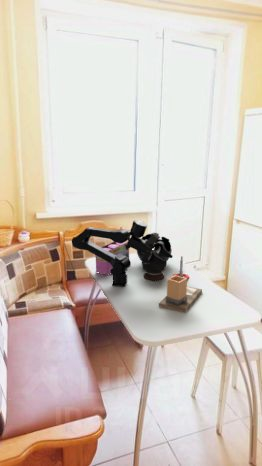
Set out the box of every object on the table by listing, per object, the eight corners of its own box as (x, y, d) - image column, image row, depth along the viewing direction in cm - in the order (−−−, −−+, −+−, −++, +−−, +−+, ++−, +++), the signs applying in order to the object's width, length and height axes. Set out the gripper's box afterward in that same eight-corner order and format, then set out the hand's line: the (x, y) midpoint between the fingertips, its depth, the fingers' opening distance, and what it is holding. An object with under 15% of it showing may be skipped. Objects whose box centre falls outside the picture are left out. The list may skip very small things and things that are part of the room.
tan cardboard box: (166, 296, 143) (167, 279, 141) (174, 292, 147) (175, 275, 145) (178, 300, 139) (179, 282, 137) (186, 295, 143) (187, 278, 141)
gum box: (119, 260, 201) (119, 239, 198) (130, 263, 197) (130, 241, 194) (95, 273, 181) (94, 249, 178) (107, 275, 177) (107, 251, 174)
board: (185, 312, 137) (185, 309, 136) (158, 306, 142) (158, 302, 142) (201, 292, 156) (202, 288, 156) (177, 287, 162) (177, 284, 162)
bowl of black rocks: (132, 261, 199) (132, 231, 194) (163, 258, 205) (163, 229, 200) (143, 273, 180) (143, 240, 176) (176, 269, 186) (178, 237, 181)
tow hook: (173, 274, 180) (172, 280, 171) (173, 251, 177) (173, 256, 168) (188, 275, 178) (189, 281, 169) (189, 252, 176) (190, 257, 167)
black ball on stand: (169, 281, 170) (170, 253, 166) (144, 283, 167) (145, 254, 164) (162, 272, 182) (162, 245, 179) (138, 273, 180) (139, 247, 176)
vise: (165, 301, 143) (166, 287, 142) (178, 294, 150) (178, 281, 149) (178, 306, 139) (179, 292, 138) (190, 298, 146) (191, 285, 145)
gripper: (137, 234, 145) (169, 250, 141) (152, 225, 162) (181, 239, 157) (129, 256, 149) (160, 272, 145) (145, 245, 166) (173, 259, 161)
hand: (169, 260), depth 152 cm, fingers open, 9 cm apart
